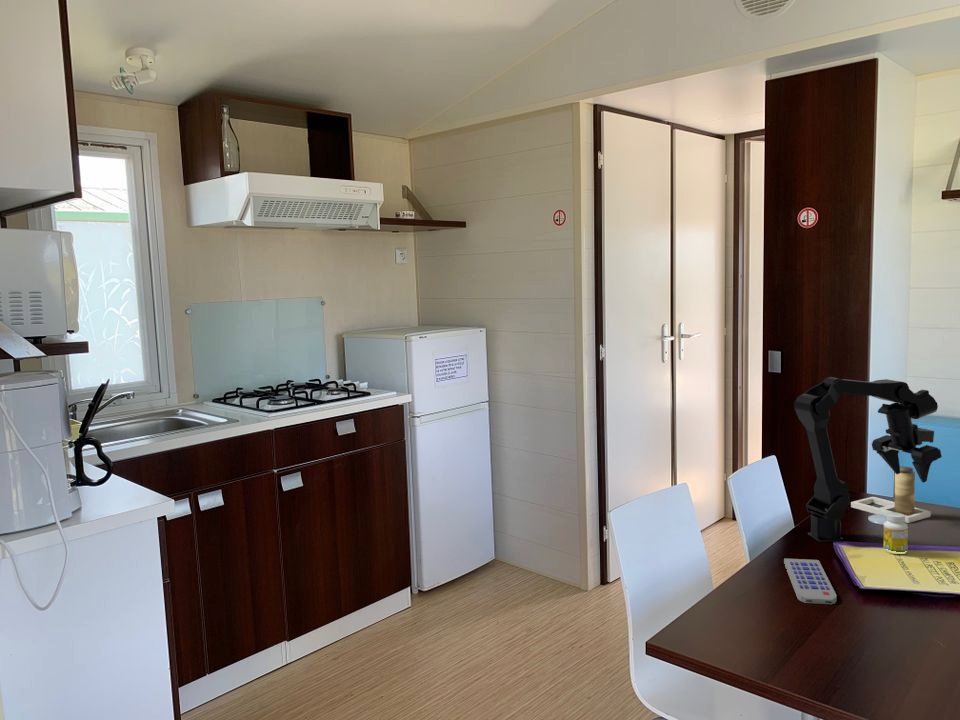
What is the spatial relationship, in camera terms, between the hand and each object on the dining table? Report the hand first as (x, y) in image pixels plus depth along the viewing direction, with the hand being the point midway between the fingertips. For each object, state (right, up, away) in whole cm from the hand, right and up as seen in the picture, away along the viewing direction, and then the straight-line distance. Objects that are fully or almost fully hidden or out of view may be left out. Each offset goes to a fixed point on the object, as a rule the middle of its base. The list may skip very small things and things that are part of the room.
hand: (911, 477), depth 204 cm
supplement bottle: (-13, -16, -16) cm, 26 cm away
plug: (+4, -13, +10) cm, 17 cm away
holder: (+2, -12, +14) cm, 19 cm away
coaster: (-3, -13, +6) cm, 15 cm away
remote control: (-42, -20, -32) cm, 56 cm away
